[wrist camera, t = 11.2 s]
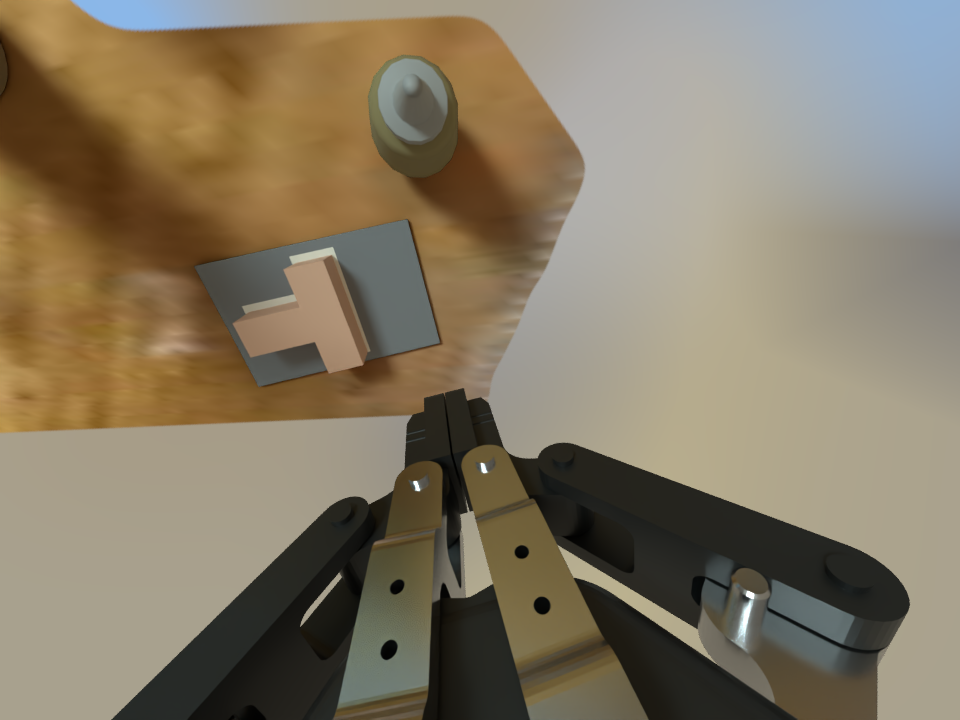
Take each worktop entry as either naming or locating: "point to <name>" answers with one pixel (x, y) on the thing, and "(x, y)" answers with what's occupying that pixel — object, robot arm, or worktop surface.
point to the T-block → (308, 318)
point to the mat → (367, 282)
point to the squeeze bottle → (413, 116)
